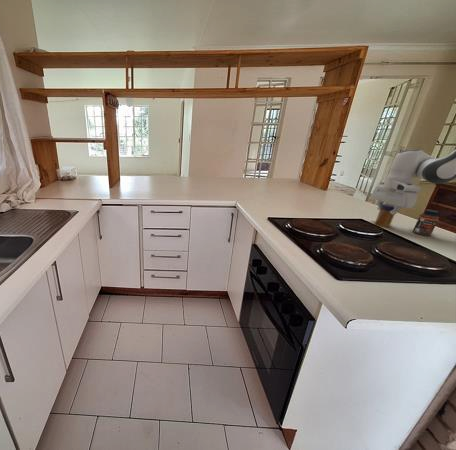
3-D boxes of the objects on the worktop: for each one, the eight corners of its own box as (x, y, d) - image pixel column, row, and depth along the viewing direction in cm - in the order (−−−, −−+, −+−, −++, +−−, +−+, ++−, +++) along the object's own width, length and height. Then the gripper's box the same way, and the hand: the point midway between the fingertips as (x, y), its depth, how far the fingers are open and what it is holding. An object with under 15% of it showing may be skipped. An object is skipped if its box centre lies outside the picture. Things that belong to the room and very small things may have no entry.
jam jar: (383, 223, 122) (390, 205, 119) (392, 227, 117) (400, 209, 113) (371, 223, 122) (378, 205, 119) (380, 226, 117) (387, 208, 114)
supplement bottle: (416, 234, 108) (427, 211, 104) (409, 230, 113) (419, 208, 109) (434, 237, 106) (445, 213, 102) (425, 232, 111) (436, 209, 107)
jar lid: (376, 207, 120) (378, 203, 119) (389, 208, 119) (391, 204, 119) (386, 210, 114) (388, 206, 113) (400, 211, 114) (401, 207, 113)
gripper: (372, 180, 122) (363, 206, 127) (409, 188, 103) (397, 218, 108) (385, 181, 122) (375, 206, 127) (424, 189, 103) (411, 218, 108)
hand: (386, 212), depth 117 cm, fingers closed on jar lid, 6 cm apart
